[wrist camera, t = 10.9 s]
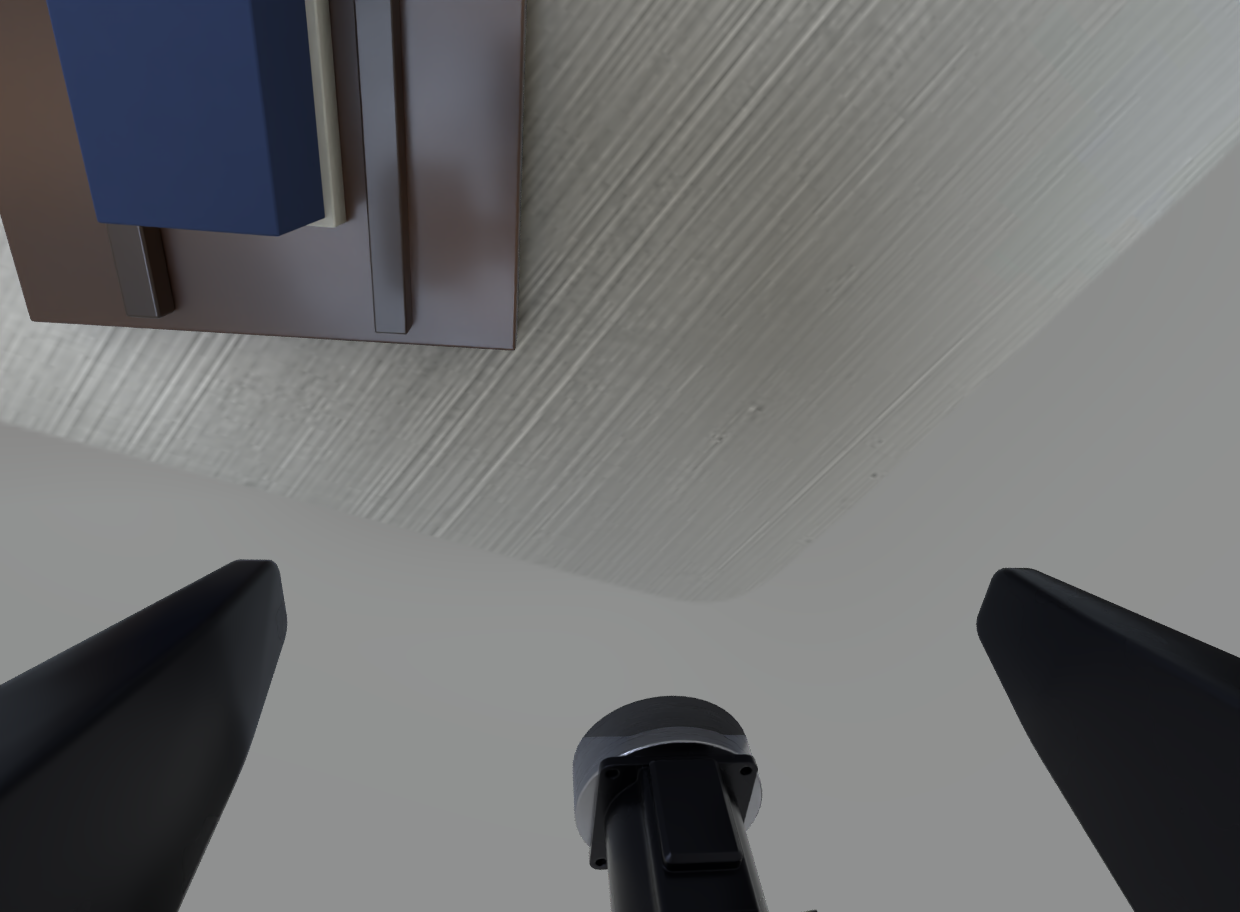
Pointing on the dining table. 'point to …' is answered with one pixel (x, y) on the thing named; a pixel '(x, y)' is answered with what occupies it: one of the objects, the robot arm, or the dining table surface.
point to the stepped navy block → (205, 112)
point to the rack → (309, 256)
